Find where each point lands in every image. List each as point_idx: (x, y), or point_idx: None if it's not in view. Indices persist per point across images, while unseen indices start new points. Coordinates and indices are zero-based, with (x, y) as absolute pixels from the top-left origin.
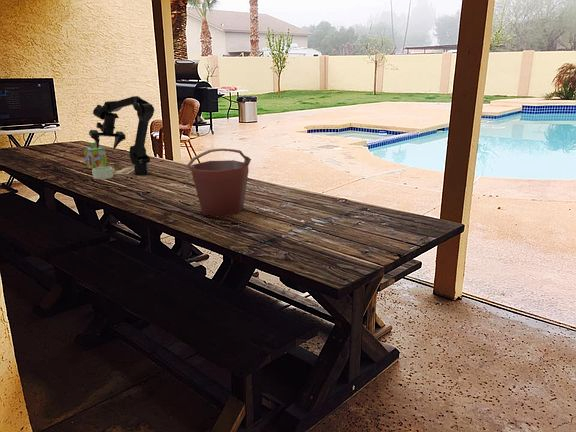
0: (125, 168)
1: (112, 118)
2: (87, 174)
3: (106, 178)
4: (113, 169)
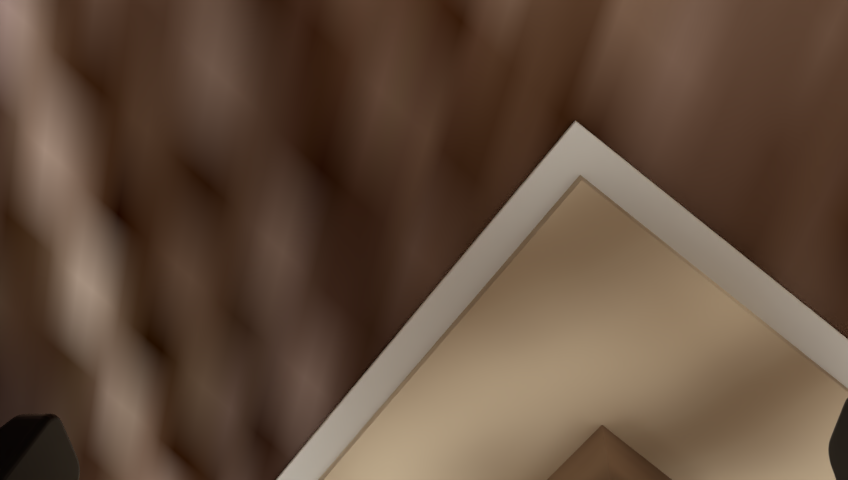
0: (775, 472)
1: None
2: (102, 289)
3: None
4: (544, 398)
